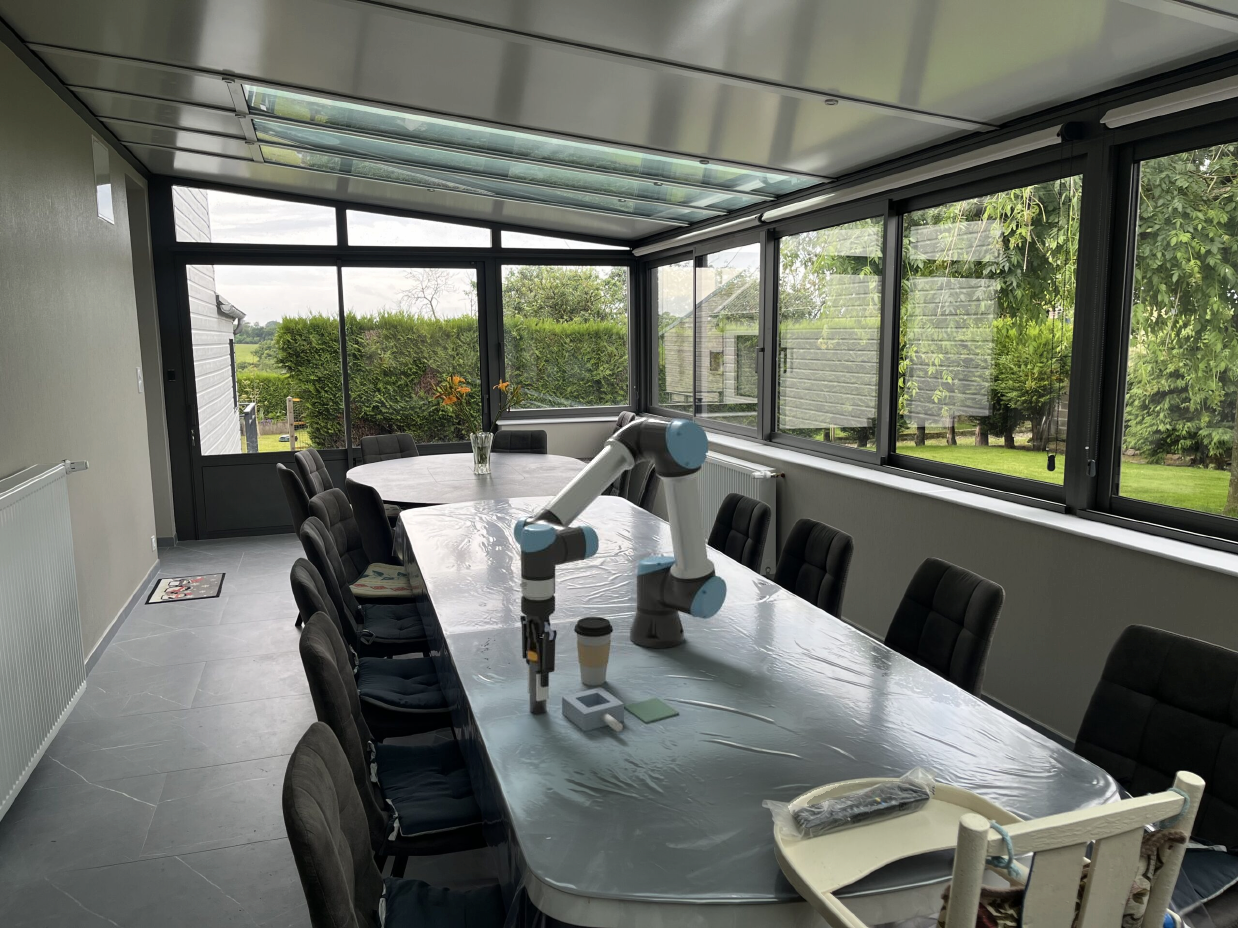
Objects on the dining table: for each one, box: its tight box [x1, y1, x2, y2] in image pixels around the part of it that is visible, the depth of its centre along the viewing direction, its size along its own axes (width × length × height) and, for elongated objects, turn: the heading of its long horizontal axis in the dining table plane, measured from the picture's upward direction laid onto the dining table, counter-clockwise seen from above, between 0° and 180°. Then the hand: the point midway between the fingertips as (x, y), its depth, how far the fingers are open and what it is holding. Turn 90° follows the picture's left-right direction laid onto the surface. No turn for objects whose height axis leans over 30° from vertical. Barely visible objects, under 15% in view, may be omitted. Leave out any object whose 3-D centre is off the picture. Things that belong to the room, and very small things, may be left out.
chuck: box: [561, 686, 625, 733], centre depth 182 cm, size 16×10×4 cm, turn 32°
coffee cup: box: [573, 616, 614, 686], centre depth 203 cm, size 9×9×15 cm
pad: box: [624, 697, 680, 724], centre depth 188 cm, size 9×9×1 cm
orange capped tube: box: [528, 648, 548, 715], centre depth 187 cm, size 5×5×14 cm
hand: (538, 695), depth 187 cm, fingers closed on orange capped tube, 4 cm apart
